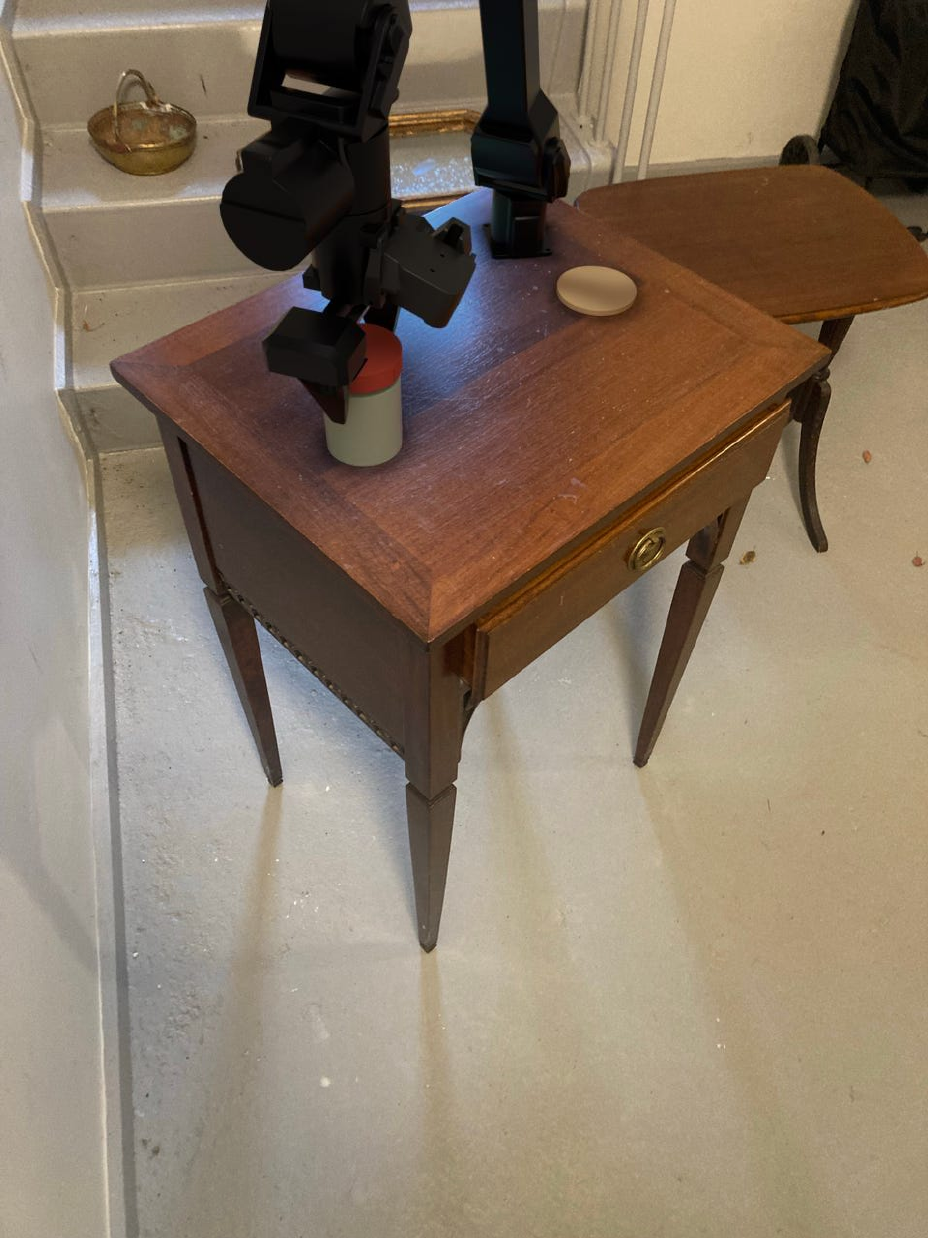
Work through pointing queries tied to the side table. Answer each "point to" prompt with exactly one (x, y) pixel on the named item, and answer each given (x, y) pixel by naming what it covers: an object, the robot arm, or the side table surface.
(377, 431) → the jar
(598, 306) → the coaster
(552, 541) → the side table surface
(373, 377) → the jar lid
